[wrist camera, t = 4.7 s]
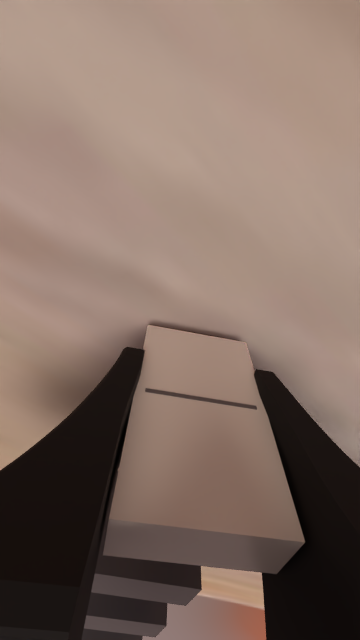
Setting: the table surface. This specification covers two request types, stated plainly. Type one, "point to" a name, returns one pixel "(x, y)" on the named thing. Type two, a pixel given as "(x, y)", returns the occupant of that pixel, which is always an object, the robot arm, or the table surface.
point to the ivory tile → (201, 462)
